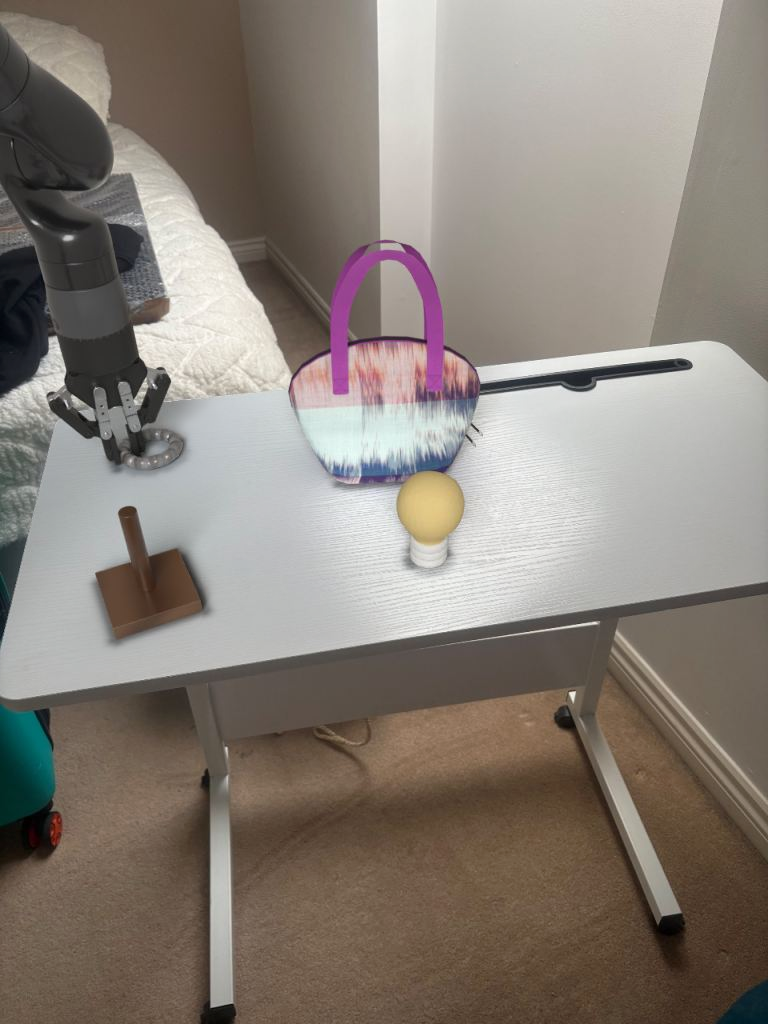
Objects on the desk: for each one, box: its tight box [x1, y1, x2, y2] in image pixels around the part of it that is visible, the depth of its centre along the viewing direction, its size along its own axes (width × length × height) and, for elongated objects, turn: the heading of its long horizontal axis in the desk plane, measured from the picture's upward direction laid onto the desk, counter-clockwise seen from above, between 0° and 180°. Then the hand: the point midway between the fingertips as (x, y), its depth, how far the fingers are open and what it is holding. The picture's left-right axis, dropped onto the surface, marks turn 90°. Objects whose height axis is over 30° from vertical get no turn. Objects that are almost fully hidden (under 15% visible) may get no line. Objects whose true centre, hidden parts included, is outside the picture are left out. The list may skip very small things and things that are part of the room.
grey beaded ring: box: [118, 427, 184, 471], centre depth 95 cm, size 7×7×1 cm
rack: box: [94, 505, 204, 640], centre depth 75 cm, size 8×8×10 cm
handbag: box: [287, 239, 484, 485], centre depth 87 cm, size 21×10×25 cm, turn 94°
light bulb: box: [395, 471, 466, 569], centre depth 79 cm, size 6×6×10 cm
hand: (126, 457), depth 95 cm, fingers closed on grey beaded ring, 1 cm apart
